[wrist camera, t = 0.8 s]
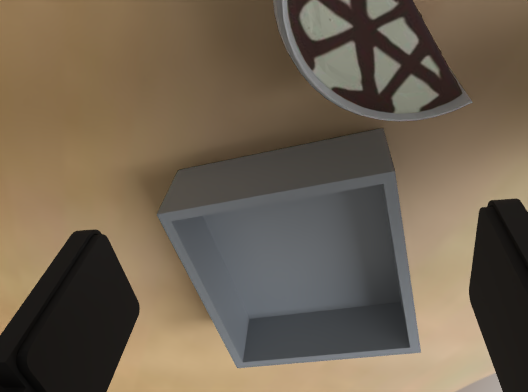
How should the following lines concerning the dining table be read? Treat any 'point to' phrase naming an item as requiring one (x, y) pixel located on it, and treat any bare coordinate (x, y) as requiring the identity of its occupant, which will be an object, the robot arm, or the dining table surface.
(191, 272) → the crate
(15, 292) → the dining table surface
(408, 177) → the dining table surface
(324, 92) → the food container
